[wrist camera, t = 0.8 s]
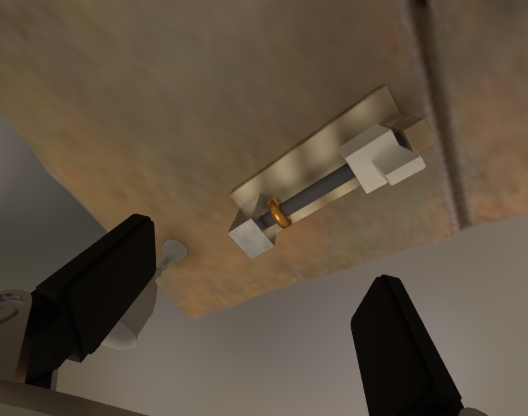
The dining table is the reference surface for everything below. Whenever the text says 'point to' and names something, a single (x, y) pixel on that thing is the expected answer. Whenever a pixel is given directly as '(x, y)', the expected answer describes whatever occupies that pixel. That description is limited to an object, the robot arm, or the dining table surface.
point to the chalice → (143, 303)
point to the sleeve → (379, 158)
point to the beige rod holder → (332, 153)
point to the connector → (257, 225)
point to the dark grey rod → (318, 189)
